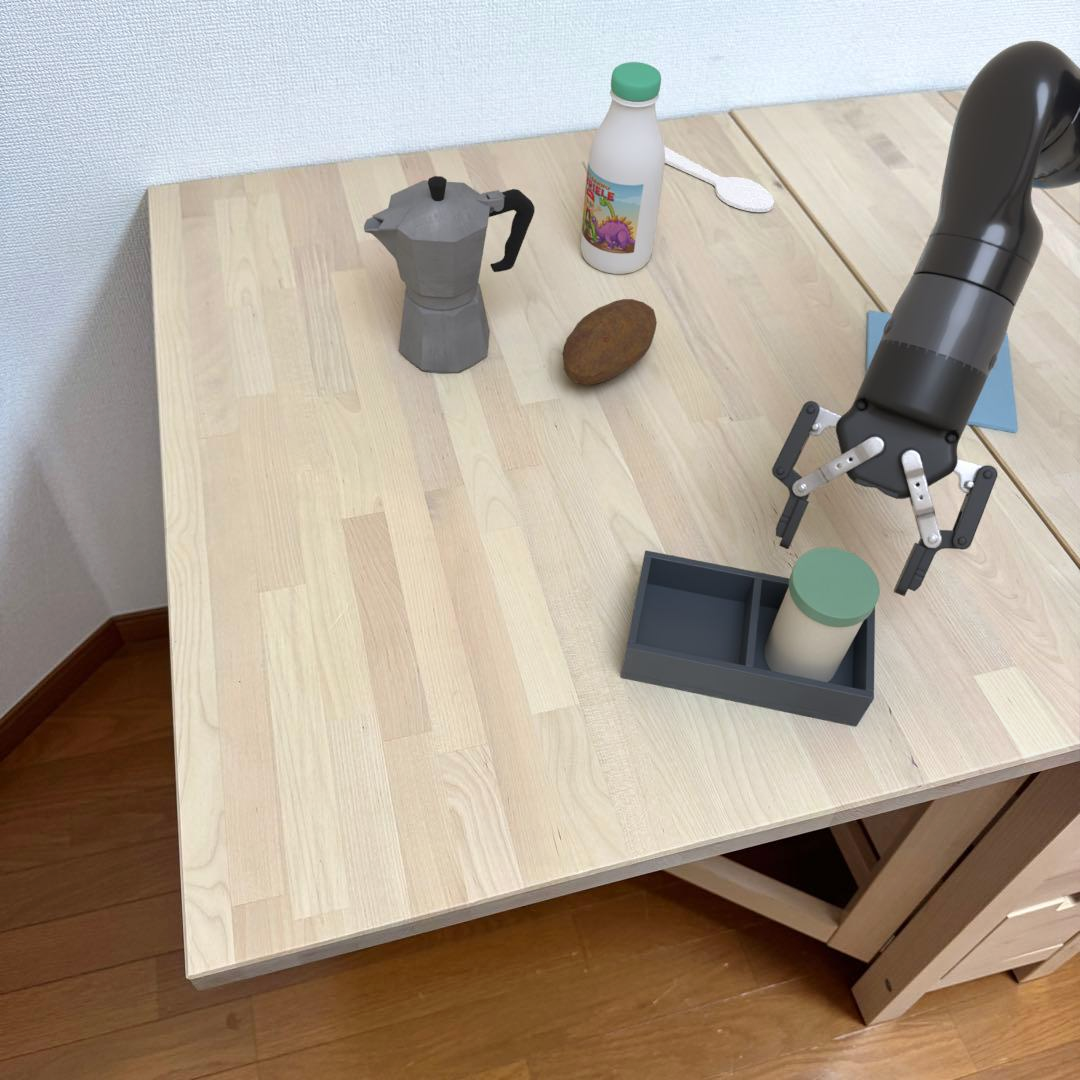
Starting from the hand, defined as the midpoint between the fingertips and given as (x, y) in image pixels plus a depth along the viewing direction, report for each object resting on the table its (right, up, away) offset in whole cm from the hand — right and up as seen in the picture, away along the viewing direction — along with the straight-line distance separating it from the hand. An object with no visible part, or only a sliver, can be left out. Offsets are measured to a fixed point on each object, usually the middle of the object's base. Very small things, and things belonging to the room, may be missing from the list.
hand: (840, 569), depth 72 cm
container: (-2, -7, +5) cm, 9 cm away
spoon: (-2, +45, +46) cm, 64 cm away
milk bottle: (-13, +33, +36) cm, 51 cm away
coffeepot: (-30, +22, +27) cm, 46 cm away
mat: (+18, +19, +27) cm, 37 cm away
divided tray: (-6, -7, +6) cm, 11 cm away
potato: (-15, +19, +25) cm, 35 cm away
